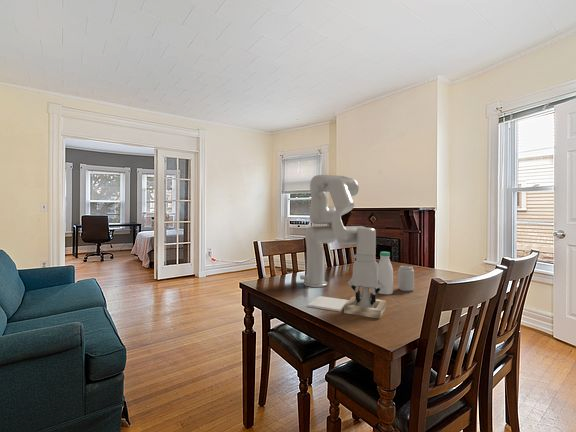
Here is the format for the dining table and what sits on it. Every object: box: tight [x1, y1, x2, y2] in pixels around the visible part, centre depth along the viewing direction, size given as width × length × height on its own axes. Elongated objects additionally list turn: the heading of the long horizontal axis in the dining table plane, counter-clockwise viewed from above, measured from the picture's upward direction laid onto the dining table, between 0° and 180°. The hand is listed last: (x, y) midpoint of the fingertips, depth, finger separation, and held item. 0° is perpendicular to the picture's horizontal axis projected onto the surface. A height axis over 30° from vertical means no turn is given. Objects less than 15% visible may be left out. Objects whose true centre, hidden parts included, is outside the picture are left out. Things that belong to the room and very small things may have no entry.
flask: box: [357, 287, 374, 308], centre depth 126 cm, size 7×7×10 cm
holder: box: [343, 296, 387, 320], centre depth 126 cm, size 14×14×3 cm
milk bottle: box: [376, 251, 394, 295], centre depth 151 cm, size 8×8×20 cm
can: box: [397, 265, 415, 292], centre depth 156 cm, size 8×8×12 cm
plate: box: [307, 295, 350, 312], centre depth 134 cm, size 14×14×1 cm
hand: (365, 302), depth 126 cm, fingers closed on flask, 5 cm apart
